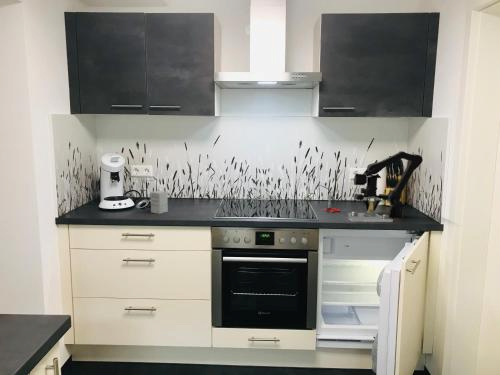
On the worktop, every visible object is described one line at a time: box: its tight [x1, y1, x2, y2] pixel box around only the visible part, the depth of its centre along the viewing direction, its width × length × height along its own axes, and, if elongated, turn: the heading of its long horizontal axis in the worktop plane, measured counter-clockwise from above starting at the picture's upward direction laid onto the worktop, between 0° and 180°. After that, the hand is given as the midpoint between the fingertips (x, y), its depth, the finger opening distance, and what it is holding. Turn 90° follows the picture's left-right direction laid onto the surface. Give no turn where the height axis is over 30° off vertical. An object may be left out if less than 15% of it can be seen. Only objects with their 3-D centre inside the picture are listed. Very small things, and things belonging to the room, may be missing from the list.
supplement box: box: [150, 190, 169, 215], centre depth 246 cm, size 7×7×13 cm
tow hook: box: [324, 190, 341, 213], centre depth 255 cm, size 8×13×9 cm
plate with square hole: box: [347, 211, 394, 223], centre depth 232 cm, size 23×10×4 cm, turn 92°
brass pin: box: [366, 200, 375, 213], centre depth 241 cm, size 4×4×9 cm
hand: (370, 211), depth 241 cm, fingers closed on brass pin, 4 cm apart
